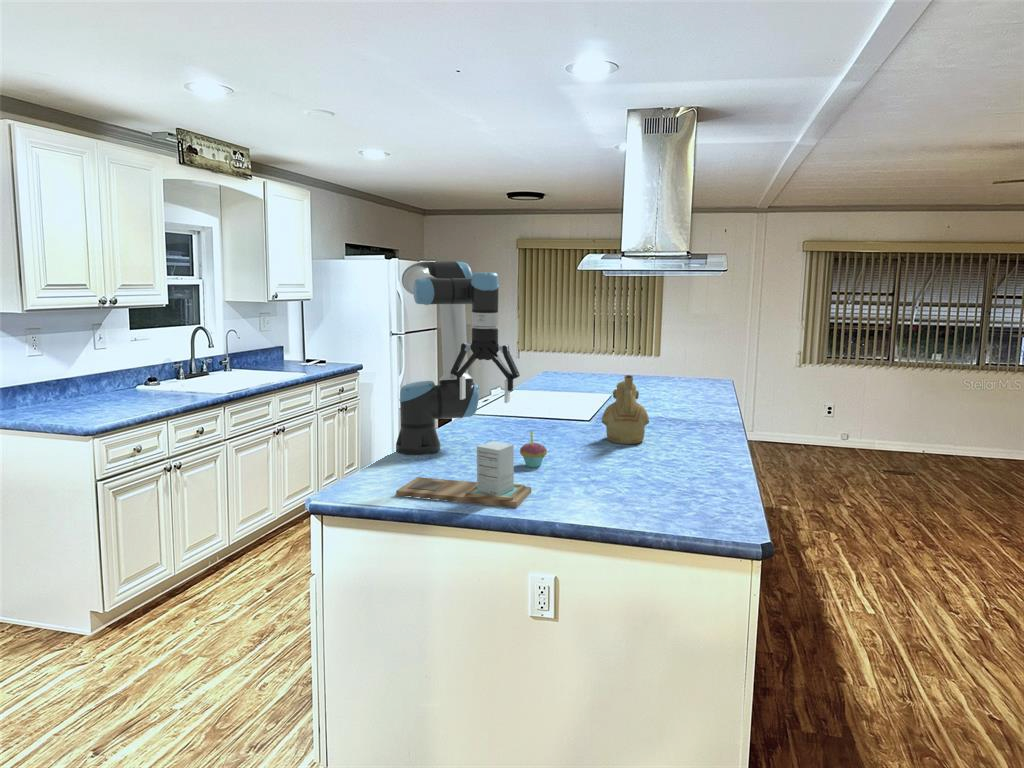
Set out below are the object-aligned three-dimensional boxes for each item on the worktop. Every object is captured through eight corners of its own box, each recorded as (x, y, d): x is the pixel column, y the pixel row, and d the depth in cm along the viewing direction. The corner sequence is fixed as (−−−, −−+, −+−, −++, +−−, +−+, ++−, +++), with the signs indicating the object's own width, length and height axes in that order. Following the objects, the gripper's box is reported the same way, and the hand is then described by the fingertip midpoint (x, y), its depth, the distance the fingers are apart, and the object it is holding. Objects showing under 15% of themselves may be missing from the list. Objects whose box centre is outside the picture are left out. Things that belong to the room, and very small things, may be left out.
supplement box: (492, 485, 196) (492, 440, 194) (514, 489, 191) (514, 444, 190) (476, 492, 190) (475, 445, 188) (498, 496, 185) (498, 449, 184)
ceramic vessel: (646, 435, 267) (647, 369, 263) (650, 447, 247) (653, 376, 244) (600, 434, 268) (601, 369, 265) (601, 446, 249) (603, 376, 245)
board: (396, 496, 191) (396, 487, 191) (417, 482, 205) (417, 474, 204) (516, 507, 182) (516, 499, 181) (531, 492, 195) (531, 484, 195)
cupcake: (542, 469, 218) (542, 431, 216) (515, 467, 221) (516, 429, 219) (549, 463, 226) (550, 426, 224) (524, 460, 229) (524, 424, 227)
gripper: (439, 326, 201) (439, 399, 205) (523, 330, 194) (522, 405, 198) (449, 324, 208) (449, 395, 212) (530, 327, 201) (529, 400, 205)
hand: (484, 400), depth 205 cm, fingers open, 13 cm apart
